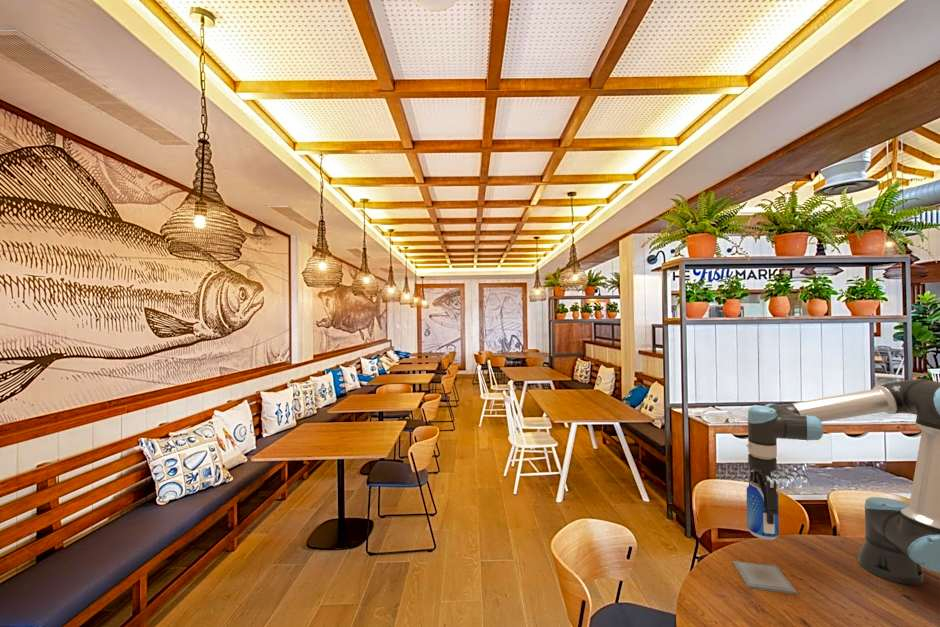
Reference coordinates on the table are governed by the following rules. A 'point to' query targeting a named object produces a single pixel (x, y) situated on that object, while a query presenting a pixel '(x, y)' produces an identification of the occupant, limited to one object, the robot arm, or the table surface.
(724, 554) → the table surface
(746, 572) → the plate
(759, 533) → the beer can
